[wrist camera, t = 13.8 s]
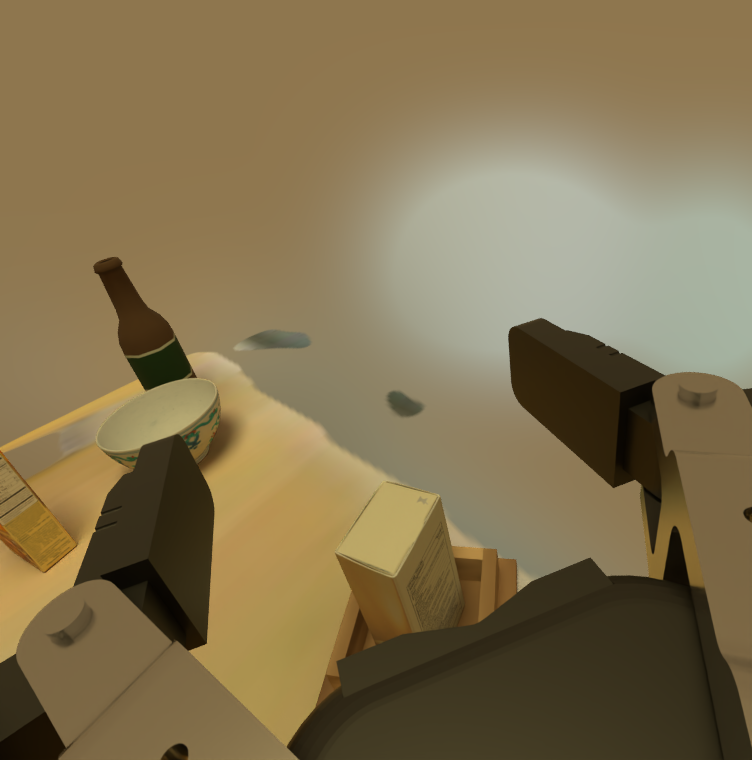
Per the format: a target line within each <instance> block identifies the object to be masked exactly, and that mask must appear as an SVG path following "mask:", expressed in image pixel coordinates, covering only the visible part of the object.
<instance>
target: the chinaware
mask: <svg viewBox="0 0 752 760" xmlns="http://www.w3.org/2000/svg"><path fill="white" fill-rule="evenodd" d="M219 421H220V399H219V394H218V390H217V387H216V385H215V384H214V383H213V382H212V381H210V380H207V379H202V378H189V379H182V380H177V381H173V382H170V383H166V384H163V385H161V386H158V387H155V388H153V389H151V390H148V391H146V392H144V393H142V394H140V395H138V396H137V397H135V398H133V399H131V400H130V401H128V402H127V403H125V404H124V405H122V406H121V407H120V408H118V409H117V410H116V411H114V412H113V413H112V414H111V415H110V416H109V417H108V418H107V419H106V420H105V421H104V422H103V424H102V425H101V426H100V428H99V430H98V432H97V434H96V443H97V445H98V447H99V448H100V449H101V450H102V451H103V452H104V453H106V454H107V455H108V456H109V457H111V458H112V459H114V460H115V461H117V462H118V463H120V464H122V465H124V466H127V467H129V468H132V469H134V467H135V464H136V461H137V458H138V455H139V452H140V449H141V447H142V445H144V444H147V443H151V442H154V441H157V440H160V439H163V438H166V437H169V436H172V435H175V434H179V435H180V436H181V437H182V438H183V439H184V441H185V442H186V444H187V446H188V448H189V450H190V452H191V454H192V456H193V458H194V459H195V461H196V463H197V464H198V463H199V462H200V461H201V460H203V458H204V457H205V456H206V455H207V453H208V451H209V444H210V443H211V441H212V439H213V438H214V436H215V434H216V431H217V429H218V425H219Z"/></svg>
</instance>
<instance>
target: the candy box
mask: <svg viewBox="0 0 752 760" xmlns="http://www.w3.org/2000/svg"><path fill="white" fill-rule="evenodd" d="M0 539H1V540H2V542H3V543H4V544H5V545H6V546H7V547H8V548H9V549H10V550H12V551H13V552H14V553H16V554H17V555H18V556H20V557H21V558H23V559H24V560H26V561H27V562H29V563H30V564H32V565H33V566H35V567H36V568H38V569H39V570H40V571H42V572H46V571H47V570H48V569H49V568H51V567H52V566H53V565H54V564H55V563H56V562H57V561H59V560H60V559H61V558H62V557H63V556H65V555H66V554H67V553H68V552H69V551H71V550H72V549H73V548H74V547H76V546H77V543H76V542H75V541H74V540H73V539H72V538H71V536H70V535H69V534H68V533H67V531H66V530H65V529H64V528H63V527H62V525H61V524H60V523H59V522H58V521H57V519H56V518H55V517H54V516H53V514H52V513H51V512H50V511H49V509H48V508H47V507H46V506H45V504H44V503H43V502H42V501H41V499H40V498H39V497H38V496H37V495H36V493H35V492H34V491H33V490H32V489H31V487H30V486H29V485H28V484H27V482H26V481H25V480H24V479H23V478H22V477H21V475H20V474H19V473H18V472H17V471H16V469H15V468H14V467H13V466H12V465H11V463H10V462H9V461H8V459H7V458H6V457H5V456H4V455H3V453H2V452H1V451H0Z"/></svg>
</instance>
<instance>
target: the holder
mask: <svg viewBox="0 0 752 760" xmlns="http://www.w3.org/2000/svg"><path fill="white" fill-rule="evenodd" d="M452 550H453V555H454V559H455V563H456V567H457V572H458V576H459V581H460V585H461V589H462V593H463V598H464V602H465V605H464V608H463V611H462V613H461V616H460V619H459V621H458V624H457V627H460V626H468V625H473V624H476V623H478V622H480V621H482V620H483V619H484V618H486V617H487V616H488V615H490V614H491V613H492V612H493V611H495V610H496V609H497V608H499V607H500V606H501V605H502V604H504V603H505V602H506V601H507V600H509V599H510V598H511V597H513V596H514V595H515V594H516V593H517V563H516V560H515V559H502V558H498V556H497V549H485V548H470V547H456V546H452ZM375 645H376V644H375V642H374V639H373V637H372V635H371V632H370V630H369V628H368V626H367V623H366V621H365V619H364V617H363V615H362V612H361V610H360V608H359V606H358V603H357V601H356V599H355V597H354V594H353V592H352V591H351V595H350V598H349V601H348V604H347V607H346V610H345V614H344V617H343V620H342V623H341V626H340V630H339V633H338V636H337V639H336V642H335V646H334V649H333V652H332V655H331V658H330V661H329V665H328V668H327V671H326V675H325V678H324V682H323V685H322V688H321V691H320V694H319V698H318V701H317V704H316V707H317V706H318V705H319V704H320V703H321V702H322V701H323V700H324V699H325V698H326V697H327V696H328V695H329V694H330V693H332V692H333V691H334V690H335V689H337V688H338V687H339V686H340V685H341V683H340V678H339V673H338V668H337V663H336V661H338V660H341V659H343V658H345V657H348V656H350V655H353V654H355V653H358V652H360V651H363V650H365V649H367V648H370V647H372V646H375ZM316 707H315V708H316Z"/></svg>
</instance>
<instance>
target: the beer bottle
mask: <svg viewBox="0 0 752 760" xmlns="http://www.w3.org/2000/svg"><path fill="white" fill-rule="evenodd" d="M121 265H122V262H121V260H120V259H119V258H118V257H111V258H107V259H104V260H101V261H99V262H97V263H96V264H95V265H94V266H93V267H94V271H95V273H96V274H99V276H100V278H101V280H102V282H103V284H104V286H105V289H106V291H107V293H108V295H109V297H110V299H111V301H112V303H113V305H114V307H115V309H116V312H117V315H118V318H119V327H118V338H119V344H120V346H121V348H122V350H123V353H124V355H125V357H126V358H127V360H128V362H129V363H130V365H131V367H132V368H133V370H134V372H135V374H136V375H137V377H138V379H139V381H140V382H141V384H142V386H143V387H144V389H145V391H148V390H151V389H153V388H155V387H158V386H161V385H163V384H166V383H170V382H173V381H177V380H182V379H189V378H197V377H196V375H195V373H194V371H193V369H192V367H191V365H190V363H189V361H188V359H187V357H186V355H185V353H184V352H183V349H182V347H181V346H180V343H179V342H178V340H177V338H176V336H175V334H174V332H173V330H172V328H171V327H170V325H169V323H168V322H167V321H166V320H165V319H164V318H163V317H162V316H161V315H160V314H158V313H157V312H155V311H153V310H151V309H150V308H148V307H147V305H146V304H145V303H144V302H143V300H142V299H141V297H140V296H139V294H138V292H137V291H136V289H135V287H134V286H133V284H132V282H131V281H130V279H129V278H128V276H127V274H126V273H125V271H124V269H123V268H122V266H121Z"/></svg>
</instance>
